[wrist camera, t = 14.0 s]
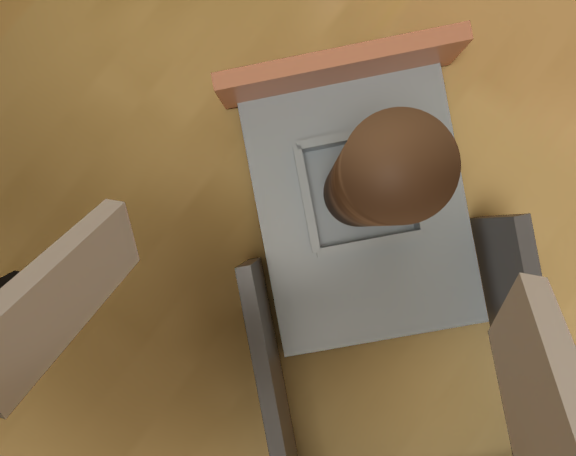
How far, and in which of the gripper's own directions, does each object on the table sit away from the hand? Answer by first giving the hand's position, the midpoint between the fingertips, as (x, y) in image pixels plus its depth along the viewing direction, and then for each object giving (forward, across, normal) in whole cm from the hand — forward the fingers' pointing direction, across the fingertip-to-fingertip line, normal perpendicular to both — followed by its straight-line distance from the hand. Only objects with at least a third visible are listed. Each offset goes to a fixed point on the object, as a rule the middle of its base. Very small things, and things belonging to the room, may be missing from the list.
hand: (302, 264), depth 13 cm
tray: (+15, +1, -7) cm, 17 cm away
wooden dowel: (+15, +1, -6) cm, 16 cm away
